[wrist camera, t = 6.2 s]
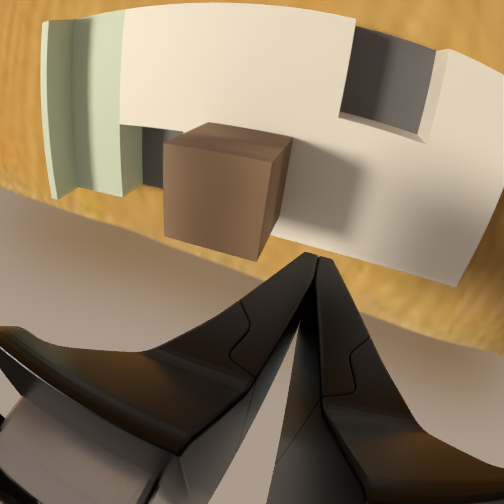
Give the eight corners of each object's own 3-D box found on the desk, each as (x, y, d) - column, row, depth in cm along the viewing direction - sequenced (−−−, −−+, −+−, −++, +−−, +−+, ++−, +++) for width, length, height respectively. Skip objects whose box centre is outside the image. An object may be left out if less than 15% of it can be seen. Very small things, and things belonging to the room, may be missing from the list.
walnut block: (293, 137, 13) (272, 162, 10) (279, 216, 16) (256, 261, 12) (208, 122, 14) (163, 143, 11) (203, 197, 16) (164, 236, 13)
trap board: (509, 86, 10) (554, 97, 7) (446, 261, 16) (462, 312, 13) (95, 20, 14) (42, 22, 11) (95, 172, 21) (51, 198, 17)
